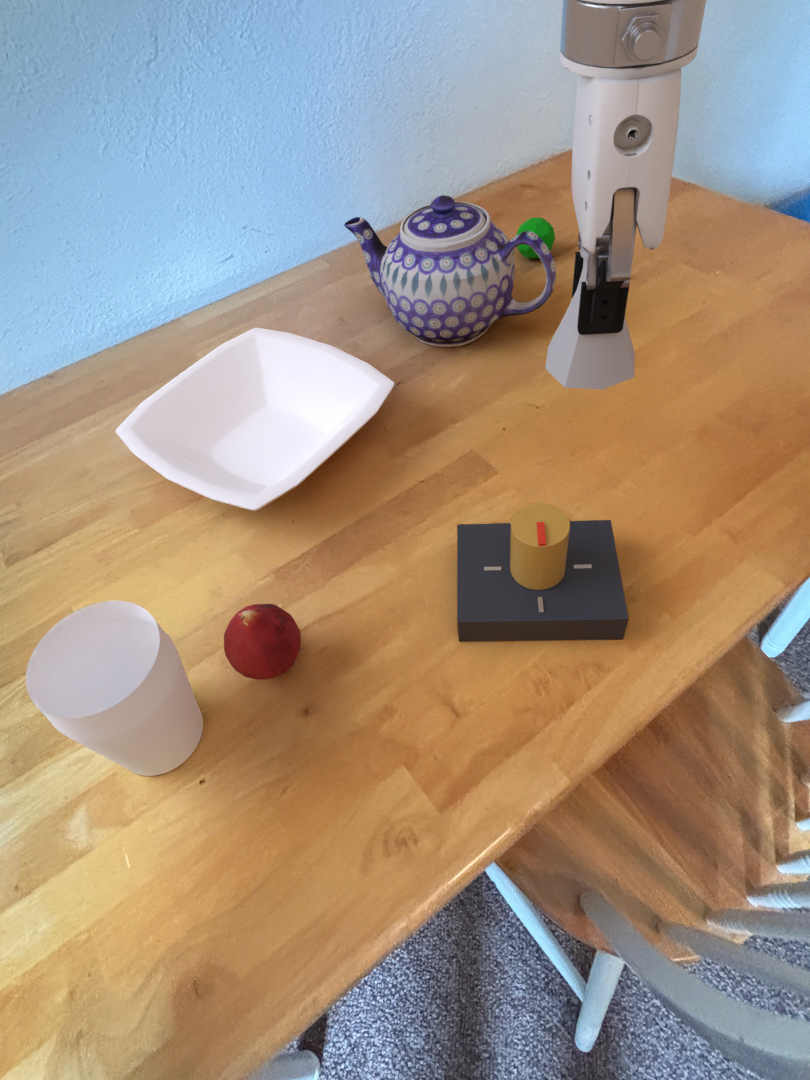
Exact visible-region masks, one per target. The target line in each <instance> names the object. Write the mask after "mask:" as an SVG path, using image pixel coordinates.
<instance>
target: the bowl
mask: <svg viewBox="0 0 810 1080" xmlns="http://www.w3.org/2000/svg"><path fill="white" fill-rule="evenodd" d="M394 387H395V382H394V380H393V379H392V380H391V379H390V378H389V377H388V376H386V375H385V374H384V373H383V372H381V371H379V370H378V369H377V368H375V367H374V366H373V365H371V364H370V363H369V362H366V361H364V360H362V359H360V358H358V357H356V356H354V355H352V354H350V353H348V352H345V351H343V350H341V349H340V348H337V347H335V346H333V345H332V344H328V343H324V342H321V341H318V340H315V339H311V338H308V337H304V336H302V335H298V334H294V333H292V332H287V331H281V330H275V329H268V328H262V327H253V328H251V329H250V330H247V331H245V332H243V333H240V334H239V335H237V336H235V337H233V338H231V339H229V340H227V341H224V342H223V343H221V344H220V345H218V346H216V348H214V349H212V350H211V351H209V353H207V354H206V355H204V356H203V357H201V358H200V359H198V360H197V361H195V362H194V363H192V365H190V366H189V367H187V368H186V369H184V370H183V371H182V372H180V373H179V374H178V375H177V376H175V377H173V378H172V379H171V380H170V381H168V382H167V383H165V384H164V385H163V386H162V387H160V388H159V389H158V390H156V391H154V393H151V395H150V396H148V397H146V398H145V399H144V400H143V401H141V402H140V403H139V404H138V406H136V407H135V408H134V409H133V411H132V412H130V414H129V415H128V416H127V417H126V418H125V419H124V420H123V421H122V422H121V423H120V425H118V426H117V428H116V429H115V433H116V435H117V436H118V437H119V438H120V439H121V441H122V442H123V443H124V444H125V445H126V447H127V448H128V449H129V450H130V452H131V453H132V454H133V455H134V456H135V457H137V458H138V460H139V459H140V460H141V461H142V462H143V463H145V464H146V465H147V466H149V467H150V468H151V469H152V470H154V471H155V472H157V473H158V474H159V475H161V476H162V477H163V478H165V479H166V480H167V481H169V482H172V483H174V484H176V485H178V486H181V487H183V488H185V489H186V490H188V491H189V490H190V491H192V492H194V493H196V494H198V495H201V496H202V497H205V498H207V499H210V500H211V501H215V502H218V503H222V504H226V505H229V506H233V507H237V508H241V509H244V510H249V511H251V512H257V511H259V510H261V509H262V508H264V507H266V506H267V505H269V504H270V503H273V502H274V501H275V500H277V499H278V498H280V497H282V496H284V495H285V494H287V493H288V492H291V490H293V489H295V488H296V487H299V485H301V484H302V483H303V482H304V481H305V480H306V479H307V478H308V477H310V475H312V474H313V473H314V472H315V471H316V470H317V469H319V468H320V467H321V466H322V465H323V464H324V463H325V462H326V461H327V460H328V459H329V458H331V456H333V455H334V454H335V453H336V452H337V451H339V450H340V449H341V447H342V446H344V445H345V444H346V443H348V441H349V440H351V438H352V437H353V436H354V435H355V434H356V433H357V432H359V431H360V429H362V428H363V427H364V426H365V425H366V424H367V423H368V422H369V421H370V420H371V419H373V417H374V416H376V415H377V414H378V412H379V410H380V409H381V408H382V406H383V405H384V402H385V401H386V400H387V398H388V396H389V395H390V393H391V392H392V390H393V389H394Z"/></svg>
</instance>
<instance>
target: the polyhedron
mask: <svg viewBox="0 0 810 1080" xmlns="http://www.w3.org/2000/svg"><path fill="white" fill-rule="evenodd" d="M524 231H531V232H533V233H535V234H536V235H538V236H539V237H540V238H541V239H542V240H543V242H544V243H545V244H546V246H547V247H548V249H549V251H550V252H551V250H552V248H553V247H554V243H555V240H556V234H555V230H554V227H553V225H552V224H551V222H549V221H548V220H546V219H545V218H543V217H530V218H528V219H527V220H525V221H524V222H523V223H522V224H520V226H519V227H518V229H517V231H516V235H515V236H517V235H518V234H520V233H522V232H524ZM516 249H517V250H518V252H519V253H520V255H522V256H523V257H525V259H530V260H532V259H533V260H535V259H540V258H539V256H538V255H537V253H536V252H535V251H534V250H533V249H532V248H531V247H530V246H528V245H525V244H521V245H519V246H517V247H516Z"/></svg>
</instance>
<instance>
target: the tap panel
mask: <svg viewBox="0 0 810 1080" xmlns="http://www.w3.org/2000/svg"><path fill="white" fill-rule="evenodd" d="M569 521H570V532H569V541H568V549H567V558H566V566H565V573H564V576H563V578H562V580H561V581H560V582H559V583H558V584H556V585H555V586H553V587H551V588H548V589H544V590H533V589H529V588H526V587H524V586H522V585H520V584H519V583H518V582H516V580H515V579H514V578H513V576H512V574H511V571H510V540H511V522H497V523H496V522H494V523H492V522H491V523H467V524H466V523H465V524H461V523H459V524H457V528H456V533H457V534H456V537H457V538H456V540H457V541H456V545H457V547H456V549H457V550H456V557H457V558H456V561H457V563H456V567H457V568H456V582H457V583H456V588H457V589H456V596H457V597H456V623H457V636H458V642H459V643H461V642H462V643H463V642H465V643H466V642H468V643H469V642H532V641H533V642H537V641H539V642H540V641H541V642H542V641H543V642H544V641H548V642H549V641H615V640H619V641H620V640H624V639H625V636H626V632H627V627H628V623H629V619H630V617H629V612H628V607H627V601H626V596H625V591H624V585H623V579H622V574H621V568H620V563H619V558H618V557H619V556H618V551H617V547H616V541H615V535H614V529H613V524H612V519H594V520H591V519H589V520H569Z"/></svg>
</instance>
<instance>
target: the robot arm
mask: <svg viewBox="0 0 810 1080" xmlns="http://www.w3.org/2000/svg"><path fill="white" fill-rule="evenodd" d="M706 4H707V0H562V8H561V28H560V29H561V30H560V46H559V47H560V49H559V50H560V51H559V63H560V65H561V66H562V67H563V68H564V69H565V70H567V71H569V72H571V73H573V74H575V75H576V76H577V78H576V79H577V80H576V93H575V105H574V117H573V118H574V119H573V131H572V132H573V133H572V149H571V155H572V156H571V197H572V202H573V208H574V213H575V217H576V223H577V227H578V234H577V235H578V237H577V248H578V250H579V251H575V252H574V253H575V254H574V265H573V278H572V288H571V299H572V298H573V296H574V294H575V292H576V290H577V287H578V283H579V280H580V276H581V273H582V269H583V258H582V257H581V254H580V250H581V242H582V244H583V247H584V248H585V249H586V250H587V251H588V263H587V276H586V282H581V293H580V303H579V314H578V324H577V329H578V333H579V334H581V335H590V334H608V333H619V332H621V331H622V329H623V324H624V318H626V312H627V311H626V310H627V303H628V299H629V292H630V285H631V284H630V283H631V276H632V265H633V259H634V250H635V241H636V234H637V230H638V233H639V236H640V239H641V242H642V246H643V249H649V250H650V251H652V250H653V251H655V250H657V249H658V248H659V247H660V246H661V245H662V243H663V240H664V234H665V229H666V221H667V213H668V206H669V200H670V199H669V198H670V191H671V186H672V176H673V169H674V162H675V154H676V147H677V138H678V137H677V136H678V130H679V129H678V127H679V119H680V107H681V92H682V91H681V89H682V68H684V67H686V66H688V65H689V64H690V63H692V62H693V61H694V60H695V58H696V57H697V54H698V50H699V49H698V48H699V42H700V37H701V32H702V26H703V21H704V16H705V11H706ZM602 235H609V238H601V237H602ZM602 253H609V256H608V261H602V262H600V264H599V266H598V258H599V254H602Z"/></svg>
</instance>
